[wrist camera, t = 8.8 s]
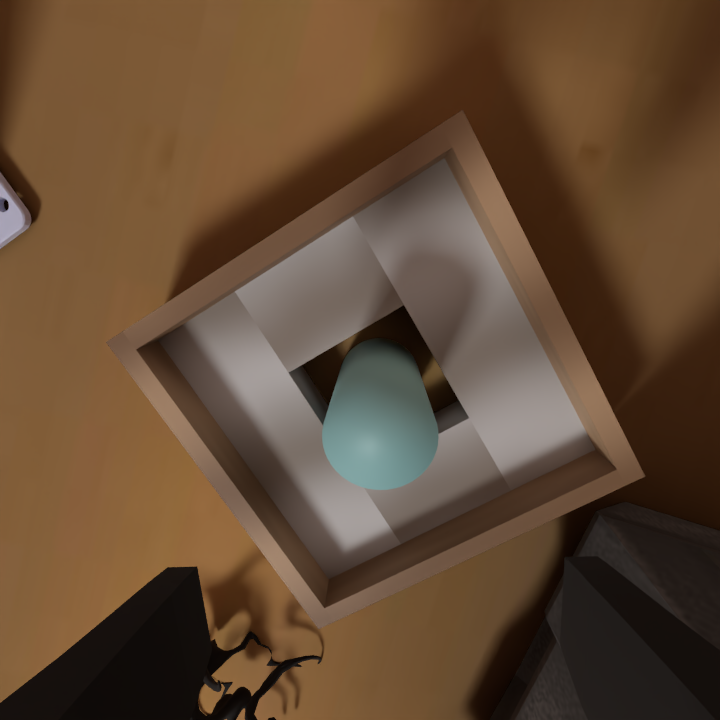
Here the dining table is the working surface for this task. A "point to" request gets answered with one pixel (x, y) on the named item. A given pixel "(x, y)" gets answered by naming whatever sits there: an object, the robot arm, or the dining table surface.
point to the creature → (241, 697)
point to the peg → (380, 418)
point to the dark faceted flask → (644, 569)
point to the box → (447, 344)
